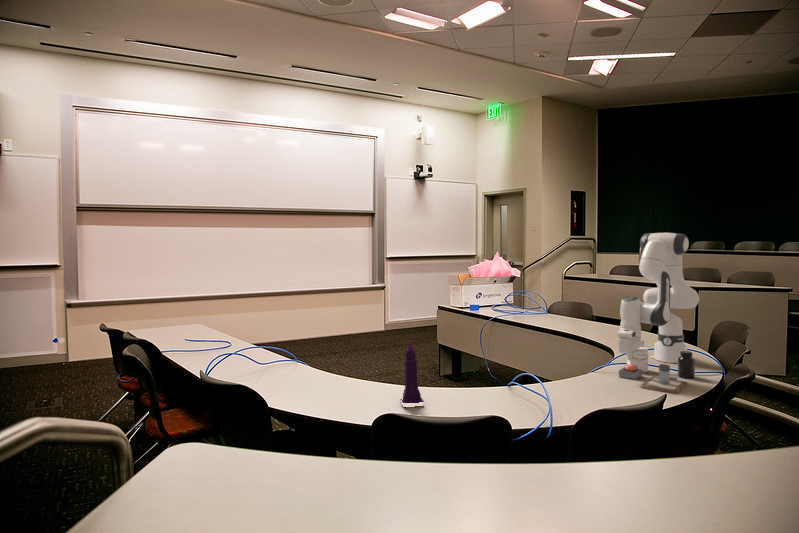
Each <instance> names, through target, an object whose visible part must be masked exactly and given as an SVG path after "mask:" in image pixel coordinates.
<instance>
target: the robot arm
mask: <svg viewBox="0 0 799 533" xmlns="http://www.w3.org/2000/svg"><path fill="white" fill-rule="evenodd" d="M689 245H690V244H689V236H687V235H686V234H684V233H679V232H678V233H675V232H654V233H652V232H648V233H644V234H643V235H642V236H641V237H640V240H639V247H640V250H641V251H642V252H641V257H640V260H639V265H638V266H639V267H638V270H639V273H640V275H641V276H643V277H644V278H646V279H647V280H649V281H651V282H653V283H655V284H656V286H657V287H652V288H647V289H646V290H645V291H644V293H643V296H642V299H643V301H641V300H640V298H639V297H637V296H625V297H623V298H622V299H621V302H620V308H619V309H620V310H619V311H620V312H619V316H620V319H621V320H620V325H619V326H620V327H619V329H618V331H617V337H618V352H619V353H620V354H622V355H623V354H625V355H626V357H627V356H628V360H630V361H631V360H633V359H634V353H635V350H636V349H638V348H640V347H641V341H642V336H641V335H642V325H641V323H642V324H649V325H655V326H658V332H657V342H656V341H655V343H654V351H653V352H654V354H652V355H651V356H650V357H651V358H652V359H653V360H654V359H655V360H656V361H659V362H663V363H670V364H678V358H679V357H680V356H681V355H680V351H688V349H687V348H688V347H687V345H686V343H685V342H684V341H685V340H684V339H685V334H684V333H683V320H682V318H681V317H679V316H677V315H676V314H674V313H671V309H683V310H684V309H685V310H686V309H693V308H696V307H697V305H698V304H699V302H700V296H699V294H698V291H696V289H694V288H692V287H691V286H690V285H689V284H688V283H687V282H686V281H685V278H684V273H683V270H684V269H683V255H684V254H685V253H686V252H687V251H688V250H689V249H688V248H689Z"/></svg>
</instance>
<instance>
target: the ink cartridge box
mask: <svg viewBox="0 0 799 533" xmlns="http://www.w3.org/2000/svg"><path fill="white" fill-rule="evenodd" d="M626 365H635V366H636V369H642V373H643V372H645V373H646V372H647V371H649V348H647V347H646V346H645V340H641V347H640V348H638V349H636V350H635V353H634V359H633V360H631V361H630V360H628V356H627V355H626ZM647 373H648V372H647Z"/></svg>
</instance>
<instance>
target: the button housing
mask: <svg viewBox="0 0 799 533" xmlns="http://www.w3.org/2000/svg"><path fill="white" fill-rule="evenodd" d="M642 377H643V372H642V369H636V372H630V371H626V369H625V366H624V367H622V368H621V369H619V370H618V378H622V379H629V380H635V381H637V380H639V379H641V378H642Z"/></svg>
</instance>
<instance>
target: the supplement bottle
mask: <svg viewBox="0 0 799 533" xmlns="http://www.w3.org/2000/svg"><path fill="white" fill-rule="evenodd" d="M680 355H681V356H680V357H679V358H678V363H677V375H678V378H681V379H687V380H688V379H689V380H691V379H695V376H696V365H695V364H696V360H695V358H694V357H693V351H691V350H690V351H689V350H687V351H680Z"/></svg>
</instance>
